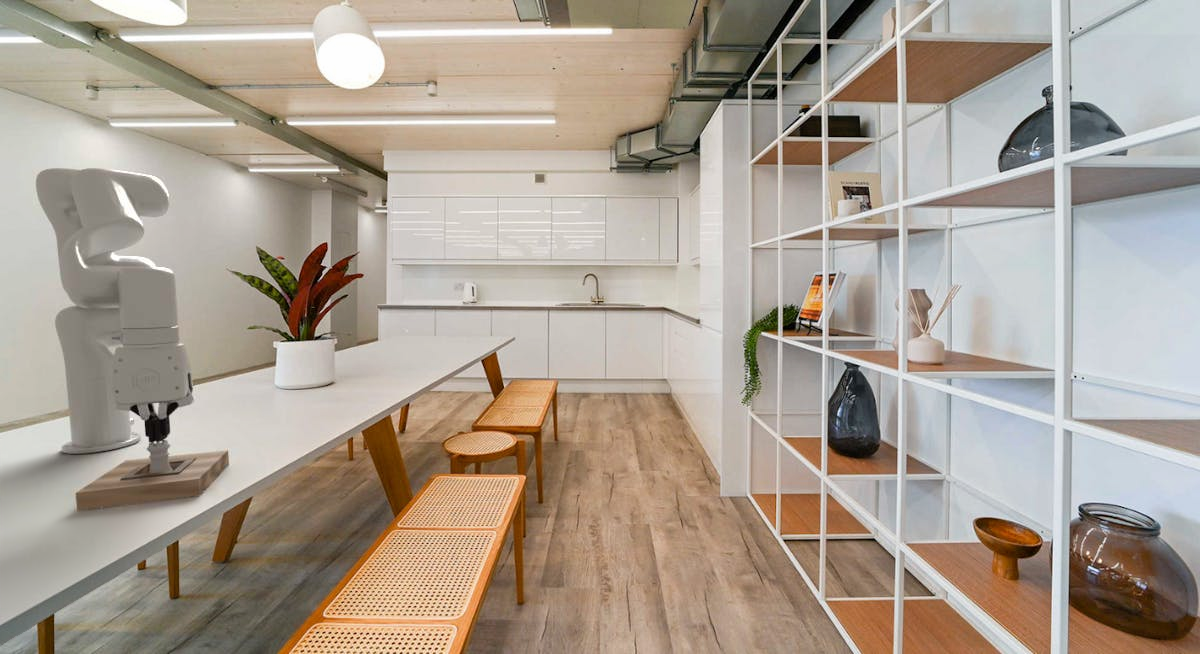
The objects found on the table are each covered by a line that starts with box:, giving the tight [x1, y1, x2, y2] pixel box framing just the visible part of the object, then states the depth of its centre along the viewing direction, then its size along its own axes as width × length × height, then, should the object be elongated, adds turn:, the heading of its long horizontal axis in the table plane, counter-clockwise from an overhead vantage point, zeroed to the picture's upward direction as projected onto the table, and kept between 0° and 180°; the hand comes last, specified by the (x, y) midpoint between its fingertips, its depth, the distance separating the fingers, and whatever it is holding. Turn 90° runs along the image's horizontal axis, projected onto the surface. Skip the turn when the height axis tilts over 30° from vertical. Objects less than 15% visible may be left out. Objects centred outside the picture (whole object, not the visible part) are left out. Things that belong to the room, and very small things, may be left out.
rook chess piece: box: [146, 439, 173, 473], centre depth 90 cm, size 4×4×8 cm
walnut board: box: [75, 449, 230, 512], centre depth 90 cm, size 16×16×3 cm
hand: (158, 439), depth 90 cm, fingers closed
